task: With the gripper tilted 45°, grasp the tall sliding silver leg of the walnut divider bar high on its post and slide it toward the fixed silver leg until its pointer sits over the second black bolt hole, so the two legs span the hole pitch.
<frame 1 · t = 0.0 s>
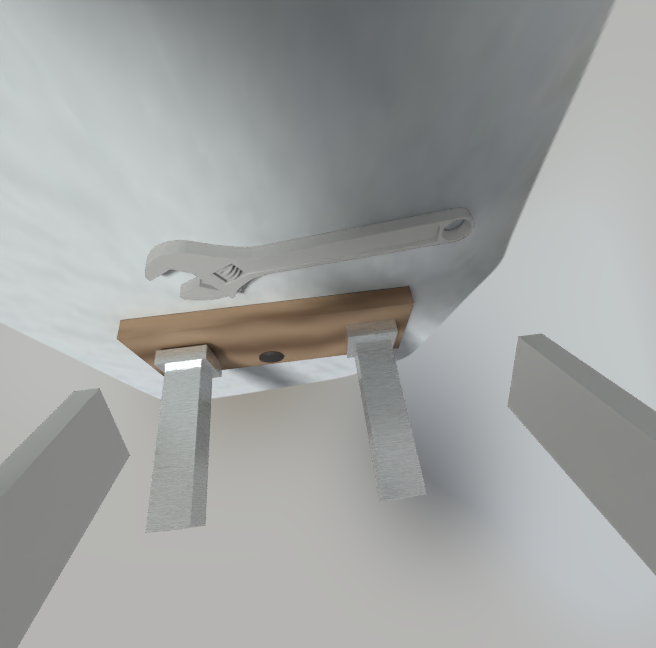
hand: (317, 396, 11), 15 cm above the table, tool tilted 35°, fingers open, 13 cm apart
fixed leg: (365, 316, 38), resting on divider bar
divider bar: (275, 327, 38), on the table
adjustable wrench: (307, 247, 28), on the table
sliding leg: (188, 435, 33), point 10 cm above the table, slide at 0.0 cm
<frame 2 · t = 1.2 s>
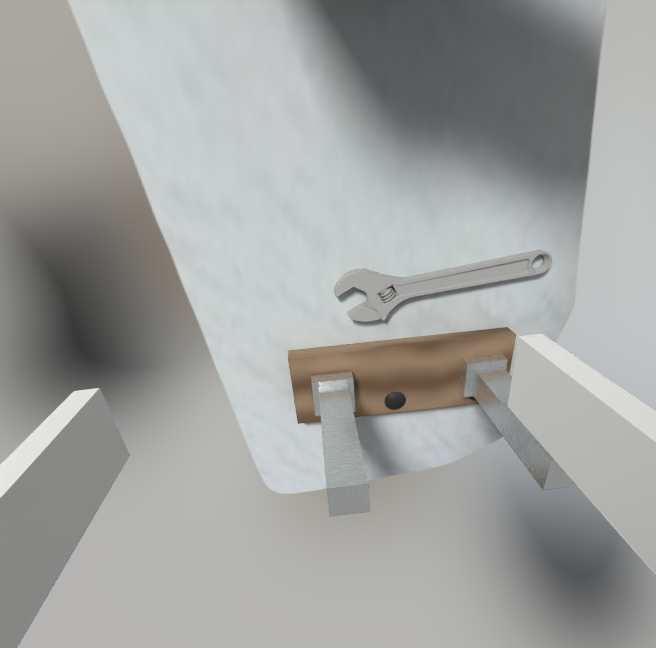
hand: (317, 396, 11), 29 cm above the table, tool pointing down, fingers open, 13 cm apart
fixed leg: (472, 363, 46), resting on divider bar
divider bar: (398, 372, 46), on the table
adjustable wrench: (437, 283, 41), on the table
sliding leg: (339, 440, 37), point 10 cm above the table, slide at 0.0 cm
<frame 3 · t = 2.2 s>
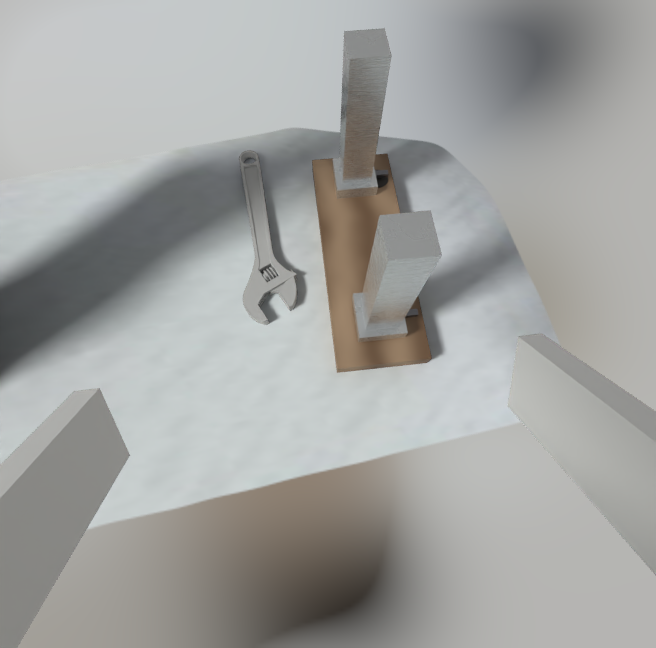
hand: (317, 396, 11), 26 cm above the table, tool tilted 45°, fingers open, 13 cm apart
fixed leg: (352, 191, 46), resting on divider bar
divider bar: (363, 257, 43), on the table
adjustable wrench: (267, 235, 45), on the table
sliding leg: (399, 285, 30), point 10 cm above the table, slide at 0.0 cm
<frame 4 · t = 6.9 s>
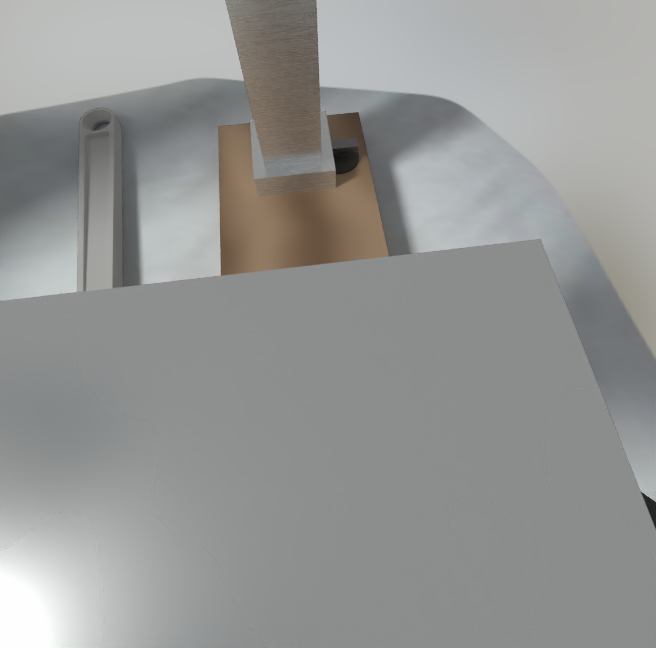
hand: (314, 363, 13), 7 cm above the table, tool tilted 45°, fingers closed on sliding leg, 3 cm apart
fixed leg: (296, 184, 25), resting on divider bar
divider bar: (311, 310, 22), on the table
adjustable wrench: (121, 258, 24), on the table
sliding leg: (359, 474, 9), point 10 cm above the table, slide at 0.0 cm, touching gripper
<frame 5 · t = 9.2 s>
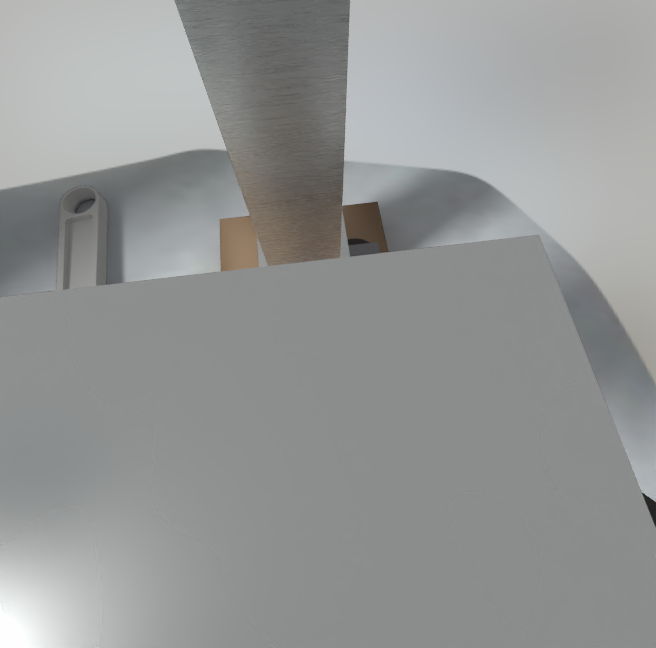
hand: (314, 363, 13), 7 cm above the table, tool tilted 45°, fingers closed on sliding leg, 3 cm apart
fixed leg: (307, 281, 22), resting on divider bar
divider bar: (326, 444, 19), on the table
adjustable wrench: (104, 364, 21), on the table
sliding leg: (358, 473, 9), point 10 cm above the table, slide at 8.0 cm, touching gripper
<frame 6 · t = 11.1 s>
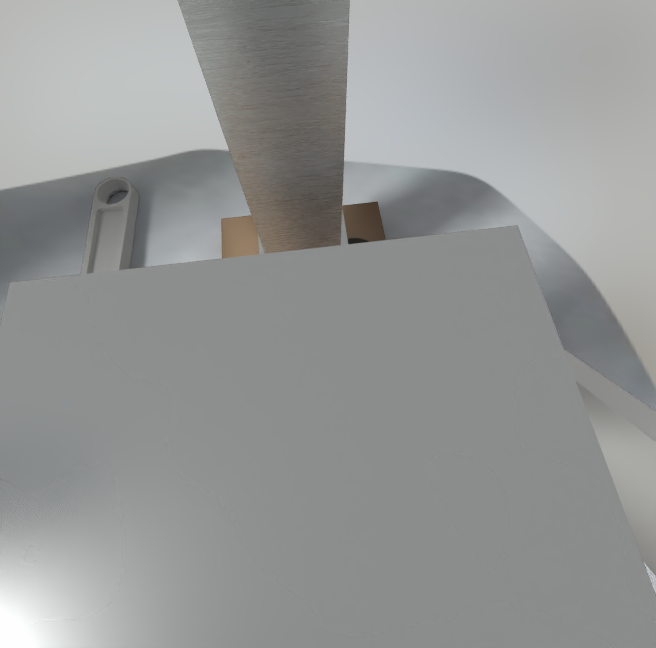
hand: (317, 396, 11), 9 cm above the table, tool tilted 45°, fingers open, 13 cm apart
fixed leg: (308, 280, 22), resting on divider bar
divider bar: (326, 441, 19), on the table
adjustable wrench: (116, 356, 21), on the table
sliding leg: (357, 465, 9), point 10 cm above the table, slide at 8.0 cm
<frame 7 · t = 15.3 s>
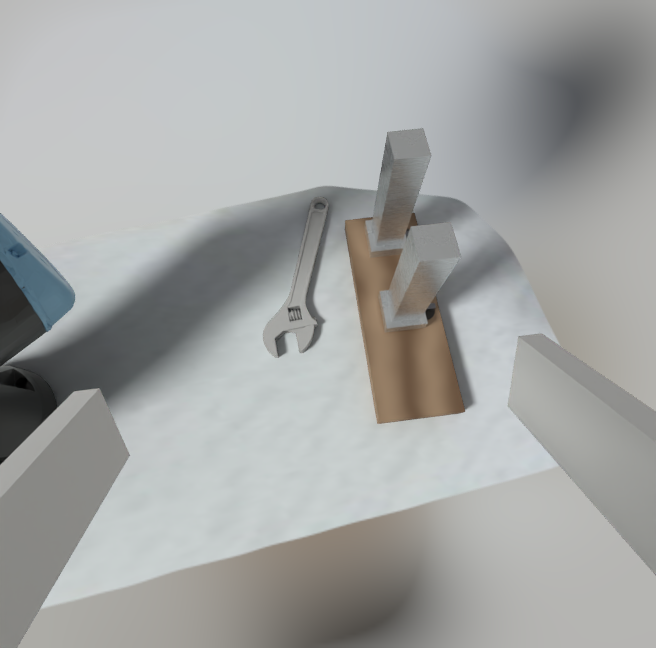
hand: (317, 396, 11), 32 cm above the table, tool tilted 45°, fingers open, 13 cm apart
fixed leg: (383, 248, 50), resting on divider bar
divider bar: (396, 311, 46), on the table
adjustable wrench: (308, 277, 49), on the table
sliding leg: (422, 282, 36), point 10 cm above the table, slide at 8.0 cm
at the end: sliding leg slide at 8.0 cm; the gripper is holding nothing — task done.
